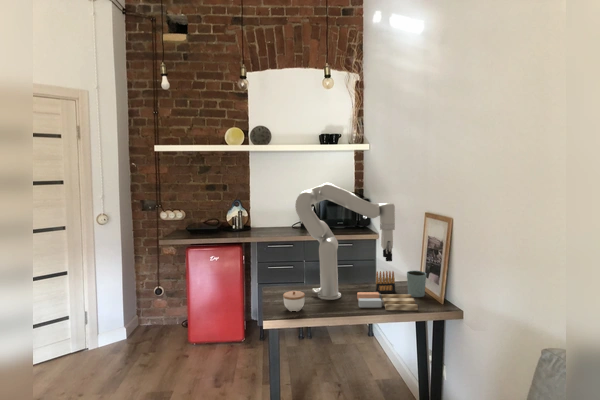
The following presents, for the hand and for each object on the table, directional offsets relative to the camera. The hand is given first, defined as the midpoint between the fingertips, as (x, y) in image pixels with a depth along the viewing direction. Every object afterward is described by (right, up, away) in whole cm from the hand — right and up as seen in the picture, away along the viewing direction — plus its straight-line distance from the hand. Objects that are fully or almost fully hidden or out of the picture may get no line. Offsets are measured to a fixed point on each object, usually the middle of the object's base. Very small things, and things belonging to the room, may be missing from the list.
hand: (387, 259), depth 197 cm
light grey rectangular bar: (-11, -22, -10) cm, 27 cm away
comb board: (+4, -21, -9) cm, 23 cm away
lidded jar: (-49, -23, -11) cm, 55 cm away
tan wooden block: (-10, -22, 0) cm, 24 cm away
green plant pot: (+17, -20, +6) cm, 27 cm away
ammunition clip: (+2, -21, +12) cm, 24 cm away
